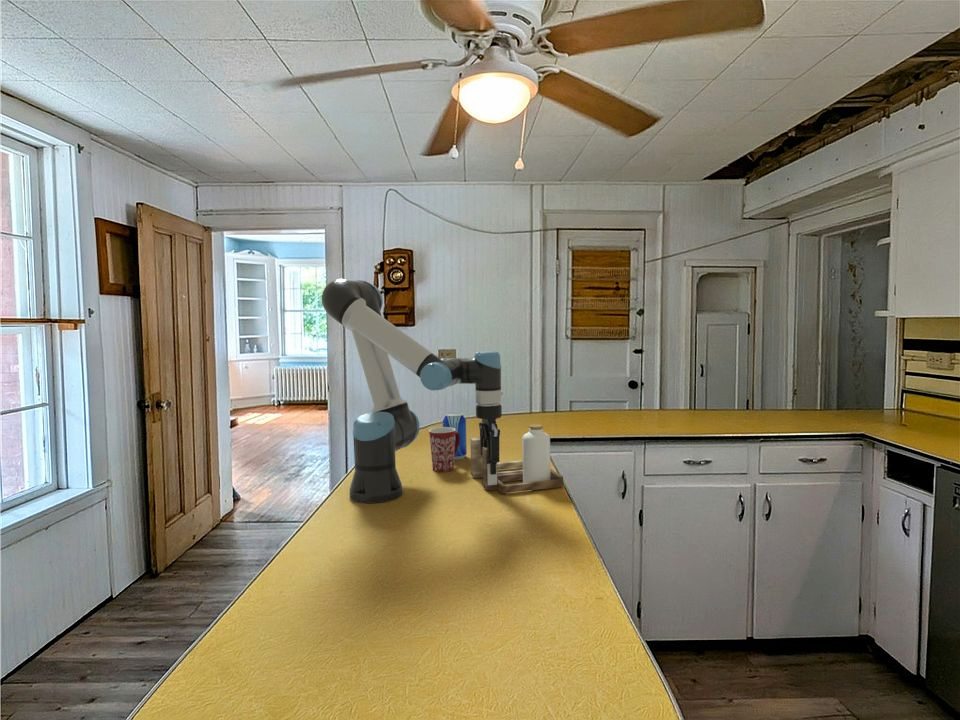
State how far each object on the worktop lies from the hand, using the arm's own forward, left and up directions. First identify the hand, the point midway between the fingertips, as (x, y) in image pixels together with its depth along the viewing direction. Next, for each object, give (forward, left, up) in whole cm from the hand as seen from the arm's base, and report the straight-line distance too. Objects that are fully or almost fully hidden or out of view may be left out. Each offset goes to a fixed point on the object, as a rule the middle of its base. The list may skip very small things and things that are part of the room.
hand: (490, 482), depth 168 cm
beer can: (-1, +41, -2) cm, 41 cm away
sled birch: (+9, +14, -2) cm, 17 cm away
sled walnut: (+9, 0, -2) cm, 10 cm away
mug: (-7, +28, -2) cm, 29 cm away
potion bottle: (+15, 0, -2) cm, 15 cm away
